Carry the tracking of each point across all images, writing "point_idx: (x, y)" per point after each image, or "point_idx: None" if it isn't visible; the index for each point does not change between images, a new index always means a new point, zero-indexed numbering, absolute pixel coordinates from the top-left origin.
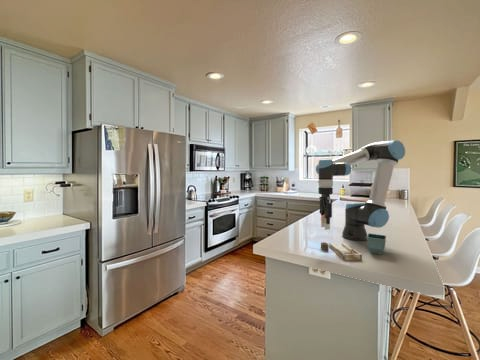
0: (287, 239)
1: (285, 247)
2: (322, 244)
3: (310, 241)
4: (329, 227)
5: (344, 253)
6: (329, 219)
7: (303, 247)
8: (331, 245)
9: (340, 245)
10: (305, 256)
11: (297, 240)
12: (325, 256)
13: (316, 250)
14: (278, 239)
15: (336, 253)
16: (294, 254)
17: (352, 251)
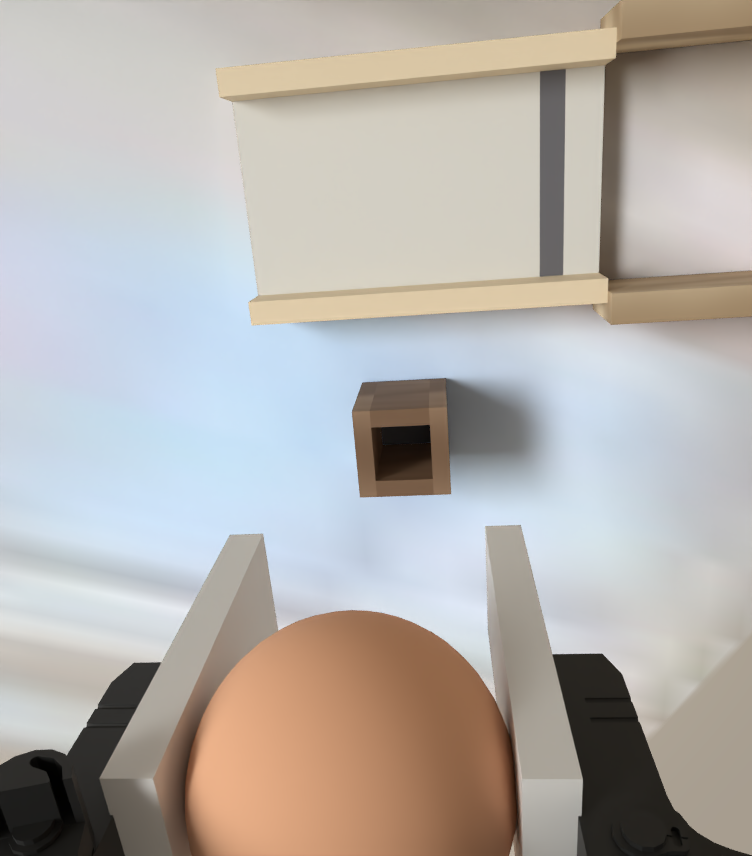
0: None
1: None
2: (436, 490)
3: (61, 511)
4: (527, 566)
5: (598, 181)
6: (656, 780)
7: None
8: (353, 317)
9: (250, 125)
10: (671, 702)
11: (55, 658)
12: (690, 487)
13: (453, 533)
14: None
15: (596, 309)
16: None
17: (645, 43)
